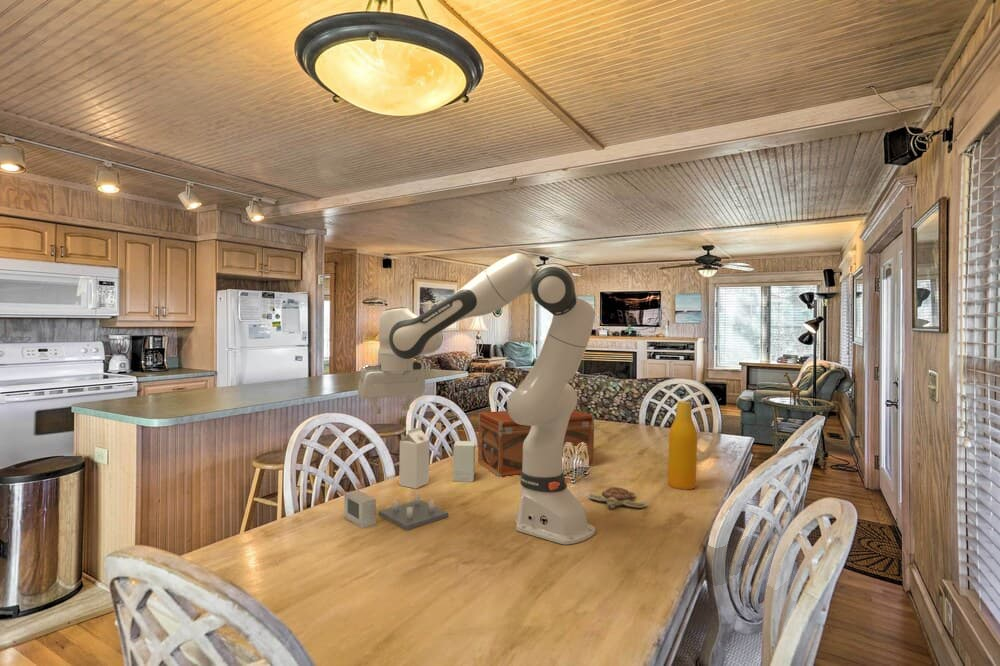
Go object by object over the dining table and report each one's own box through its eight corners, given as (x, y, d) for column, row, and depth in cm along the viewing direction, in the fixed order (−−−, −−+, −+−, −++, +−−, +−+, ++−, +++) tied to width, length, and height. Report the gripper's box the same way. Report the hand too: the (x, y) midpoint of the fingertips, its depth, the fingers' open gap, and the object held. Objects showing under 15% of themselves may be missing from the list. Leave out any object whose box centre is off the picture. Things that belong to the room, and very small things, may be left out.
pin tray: (448, 516, 145) (448, 502, 145) (406, 530, 136) (406, 514, 136) (419, 503, 155) (419, 489, 155) (378, 515, 146) (379, 500, 146)
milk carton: (398, 485, 172) (399, 429, 171) (412, 479, 178) (412, 425, 178) (416, 489, 168) (416, 431, 168) (428, 483, 175) (429, 427, 174)
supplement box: (473, 482, 177) (474, 445, 177) (452, 481, 177) (452, 445, 177) (475, 475, 184) (475, 440, 184) (454, 475, 184) (455, 440, 184)
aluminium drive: (375, 524, 139) (375, 499, 139) (361, 528, 137) (362, 502, 136) (357, 514, 147) (357, 489, 146) (344, 517, 144) (344, 492, 144)
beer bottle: (691, 482, 182) (694, 400, 181) (699, 490, 172) (701, 405, 172) (664, 480, 182) (667, 399, 182) (670, 489, 173) (673, 404, 173)
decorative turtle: (580, 506, 157) (580, 490, 157) (596, 490, 172) (596, 476, 172) (639, 518, 149) (640, 501, 148) (651, 500, 163) (652, 485, 163)
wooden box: (476, 463, 201) (477, 412, 200) (566, 453, 217) (567, 407, 217) (498, 478, 182) (499, 422, 182) (593, 467, 199) (595, 415, 198)
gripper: (365, 366, 137) (364, 418, 138) (428, 363, 151) (426, 410, 152) (354, 364, 141) (352, 413, 142) (416, 361, 156) (414, 406, 156)
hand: (391, 411), depth 147 cm, fingers open, 8 cm apart
